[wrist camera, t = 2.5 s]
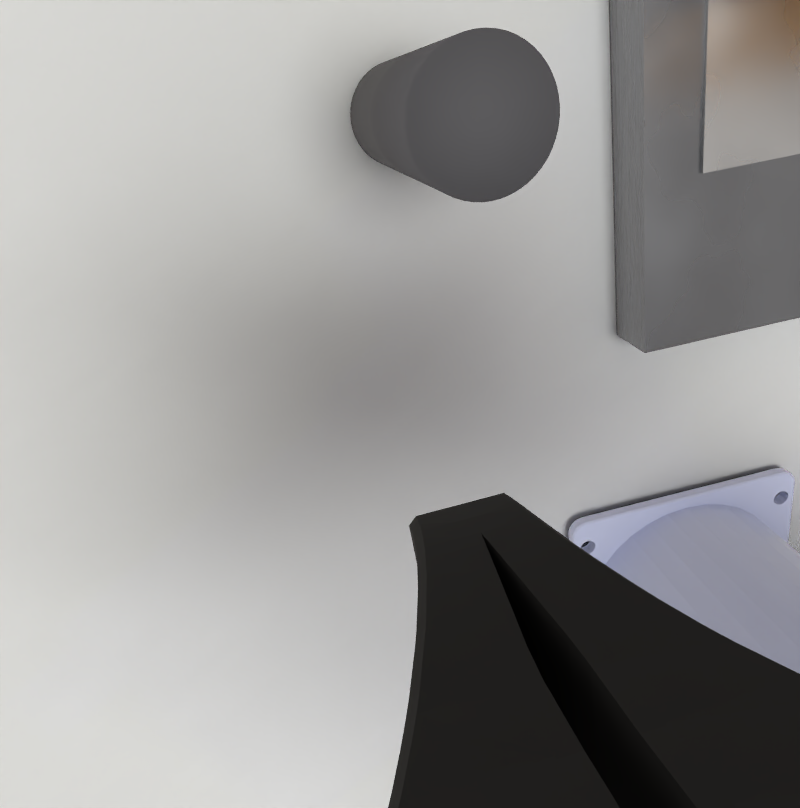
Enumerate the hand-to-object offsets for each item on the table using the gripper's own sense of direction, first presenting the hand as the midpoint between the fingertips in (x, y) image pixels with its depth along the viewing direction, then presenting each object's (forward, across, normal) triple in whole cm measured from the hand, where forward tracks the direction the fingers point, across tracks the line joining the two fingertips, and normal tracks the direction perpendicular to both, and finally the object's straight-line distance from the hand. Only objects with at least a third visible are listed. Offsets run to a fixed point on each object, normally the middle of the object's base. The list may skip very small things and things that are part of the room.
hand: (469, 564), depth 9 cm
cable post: (+10, -2, -5) cm, 12 cm away
